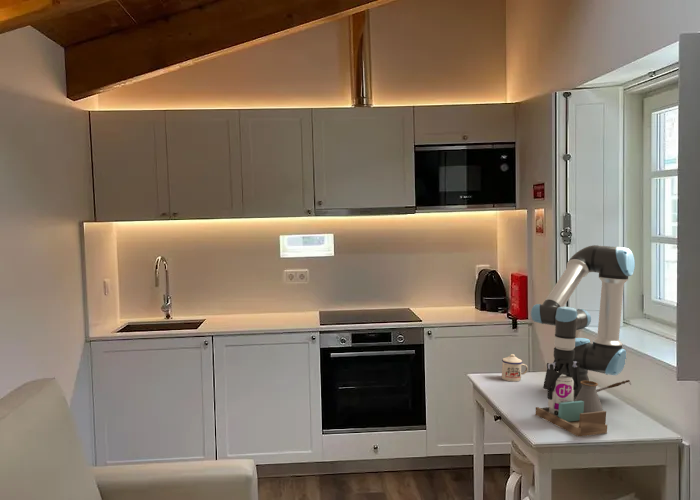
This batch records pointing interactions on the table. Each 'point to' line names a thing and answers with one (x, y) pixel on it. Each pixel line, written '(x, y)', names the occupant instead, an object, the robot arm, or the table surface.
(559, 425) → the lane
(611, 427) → the table surface
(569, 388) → the supplement can
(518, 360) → the teacup with lid
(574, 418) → the plate
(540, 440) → the table surface
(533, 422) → the table surface
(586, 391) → the coffee pot
